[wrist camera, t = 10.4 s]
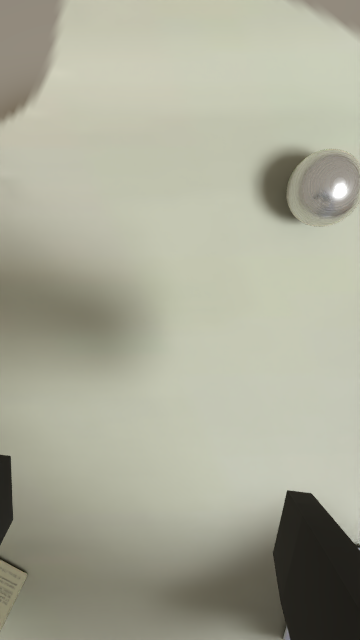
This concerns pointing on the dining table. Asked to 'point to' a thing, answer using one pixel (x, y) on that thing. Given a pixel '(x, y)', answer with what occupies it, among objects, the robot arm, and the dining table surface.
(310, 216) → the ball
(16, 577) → the skincare box
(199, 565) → the dining table surface
